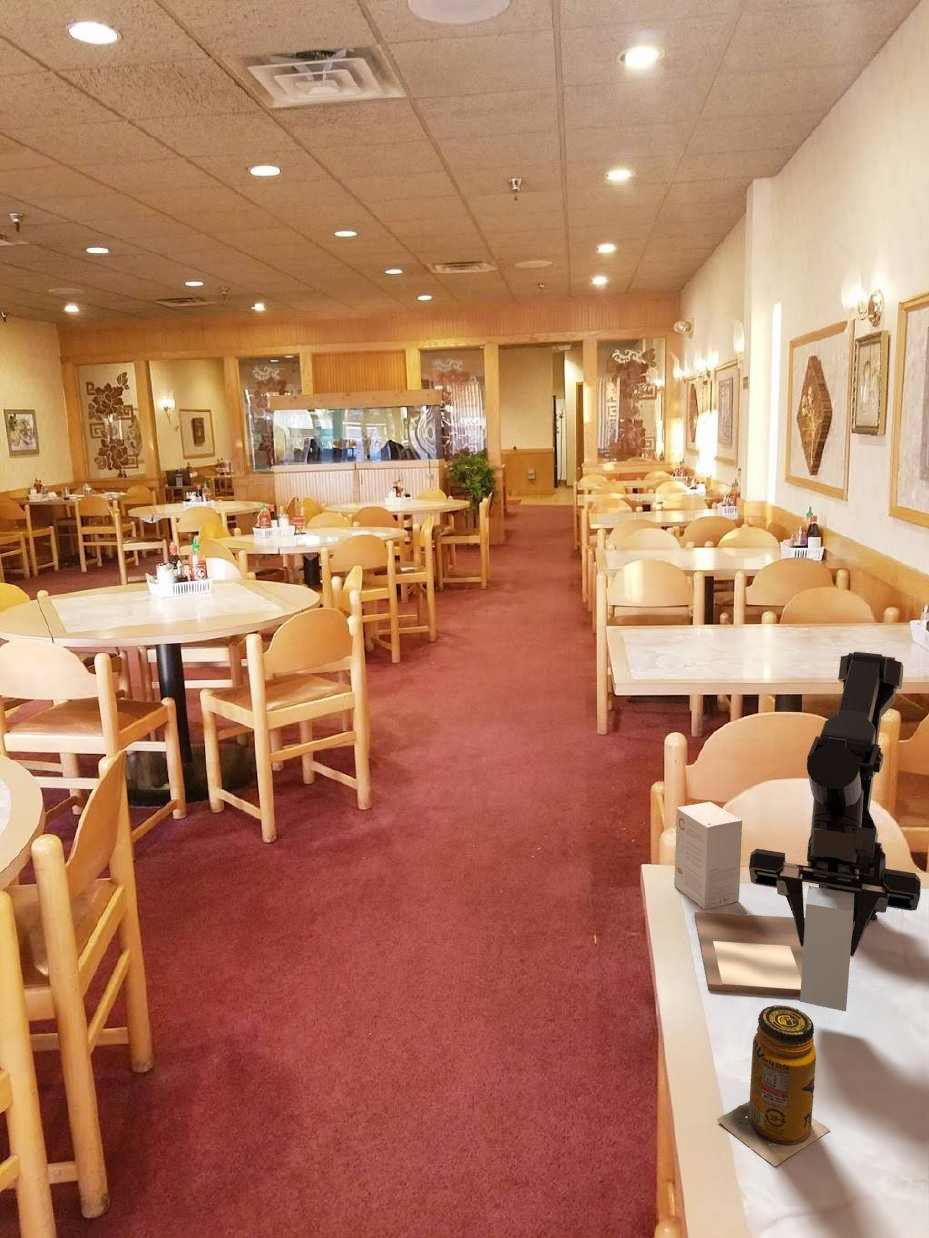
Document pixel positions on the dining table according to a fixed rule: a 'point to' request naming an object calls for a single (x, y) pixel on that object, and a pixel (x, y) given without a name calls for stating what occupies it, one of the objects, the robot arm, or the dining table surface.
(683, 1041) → the dining table surface
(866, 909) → the robot arm
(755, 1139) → the condiment
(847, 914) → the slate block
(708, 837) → the small box
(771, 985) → the brown square board
